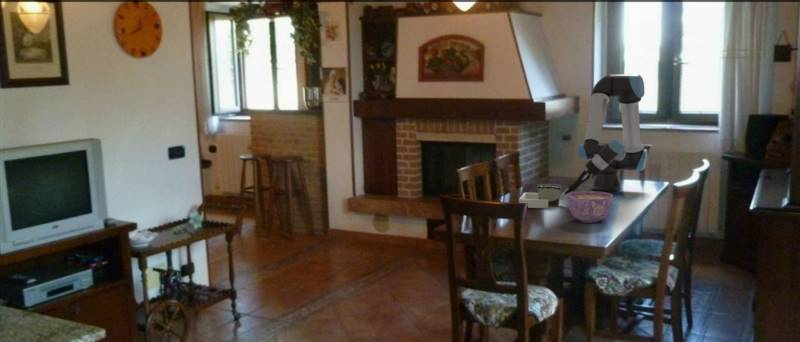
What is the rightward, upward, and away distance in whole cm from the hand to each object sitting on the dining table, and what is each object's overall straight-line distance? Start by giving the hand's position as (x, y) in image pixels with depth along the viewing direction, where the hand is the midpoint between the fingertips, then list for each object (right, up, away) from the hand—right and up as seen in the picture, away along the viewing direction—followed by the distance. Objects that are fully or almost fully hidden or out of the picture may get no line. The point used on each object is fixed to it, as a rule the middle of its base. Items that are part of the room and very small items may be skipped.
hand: (560, 198), depth 364 cm
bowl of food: (+5, -9, -36) cm, 37 cm away
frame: (-11, -3, +4) cm, 12 cm away
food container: (-5, -3, +2) cm, 6 cm away
